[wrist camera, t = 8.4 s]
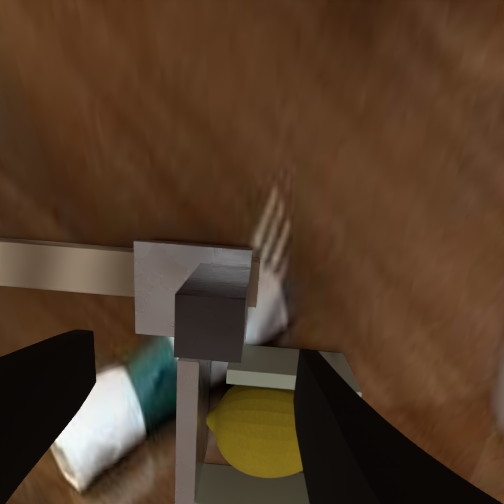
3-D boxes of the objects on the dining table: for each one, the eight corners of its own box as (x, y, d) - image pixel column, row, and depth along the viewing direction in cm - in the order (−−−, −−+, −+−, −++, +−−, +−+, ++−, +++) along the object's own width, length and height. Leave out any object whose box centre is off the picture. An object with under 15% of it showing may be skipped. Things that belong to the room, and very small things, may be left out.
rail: (3, 278, 20) (-13, 284, 19) (-3, 237, 19) (-20, 240, 18) (256, 300, 20) (256, 307, 18) (259, 258, 19) (259, 262, 18)
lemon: (209, 430, 22) (314, 441, 21) (192, 495, 16) (333, 510, 16) (215, 359, 21) (321, 369, 21) (200, 400, 16) (343, 415, 16)
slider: (148, 443, 22) (99, 552, 16) (145, 236, 18) (79, 263, 12) (237, 452, 22) (226, 566, 15) (253, 244, 18) (247, 277, 12)
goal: (193, 471, 23) (179, 529, 19) (197, 340, 21) (182, 376, 17) (321, 484, 23) (333, 545, 19) (343, 353, 20) (362, 392, 16)
